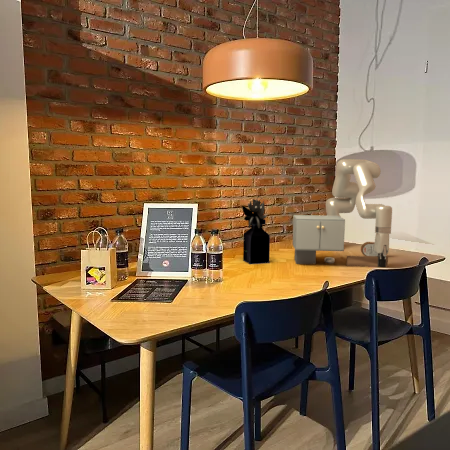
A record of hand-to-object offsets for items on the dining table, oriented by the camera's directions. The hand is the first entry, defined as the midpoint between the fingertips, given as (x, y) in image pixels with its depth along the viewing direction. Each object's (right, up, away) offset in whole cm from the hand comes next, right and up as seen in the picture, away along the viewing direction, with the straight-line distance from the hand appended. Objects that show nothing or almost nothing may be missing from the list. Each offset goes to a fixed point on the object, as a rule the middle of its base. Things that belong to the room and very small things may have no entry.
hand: (381, 265), depth 219 cm
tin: (+6, +3, +26) cm, 26 cm away
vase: (-63, +1, +9) cm, 64 cm away
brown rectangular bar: (-7, 0, +1) cm, 7 cm away
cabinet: (-31, +1, +8) cm, 32 cm away
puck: (-24, +1, +9) cm, 26 cm away
